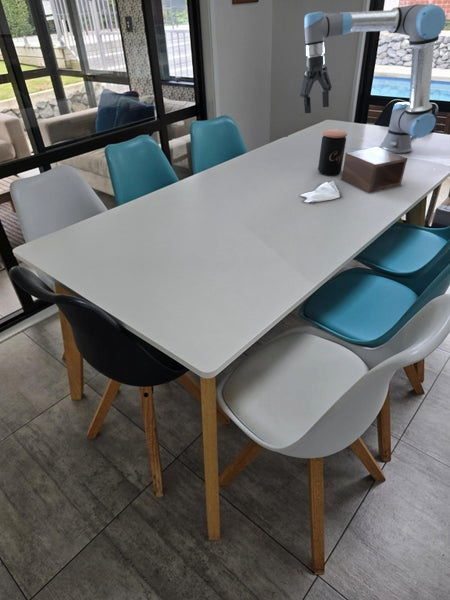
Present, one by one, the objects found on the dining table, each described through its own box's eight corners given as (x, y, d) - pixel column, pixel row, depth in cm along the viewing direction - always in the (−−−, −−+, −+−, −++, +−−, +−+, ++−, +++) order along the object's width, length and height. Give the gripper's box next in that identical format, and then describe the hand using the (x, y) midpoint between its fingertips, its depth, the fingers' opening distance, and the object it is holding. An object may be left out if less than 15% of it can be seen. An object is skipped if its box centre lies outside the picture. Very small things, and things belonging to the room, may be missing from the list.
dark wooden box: (371, 172, 193) (377, 146, 186) (400, 185, 180) (407, 158, 173) (341, 179, 186) (345, 152, 179) (368, 193, 174) (374, 164, 166)
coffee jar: (327, 177, 188) (333, 137, 178) (313, 170, 196) (317, 131, 185) (345, 173, 192) (352, 133, 181) (330, 167, 200) (336, 128, 189)
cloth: (321, 207, 162) (321, 202, 161) (292, 198, 170) (293, 193, 168) (355, 189, 177) (356, 184, 176) (327, 181, 185) (328, 176, 183)
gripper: (324, 53, 184) (326, 104, 195) (289, 61, 171) (293, 115, 182) (339, 51, 179) (339, 104, 190) (304, 59, 166) (306, 115, 177)
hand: (317, 109), depth 186 cm, fingers open, 13 cm apart
